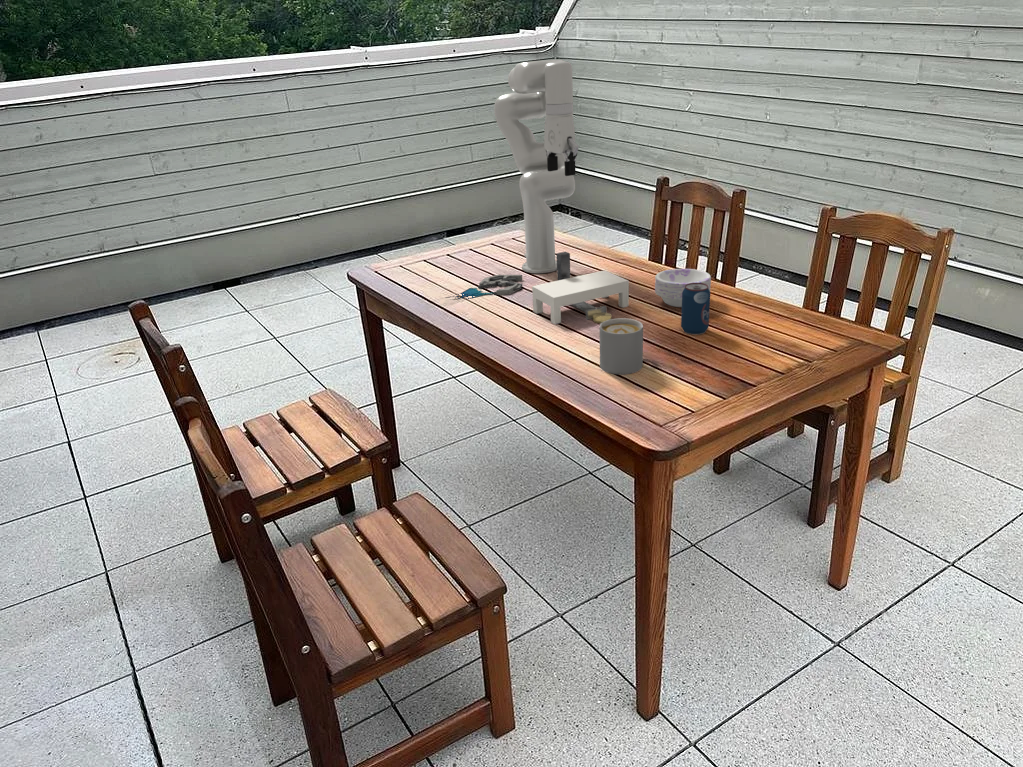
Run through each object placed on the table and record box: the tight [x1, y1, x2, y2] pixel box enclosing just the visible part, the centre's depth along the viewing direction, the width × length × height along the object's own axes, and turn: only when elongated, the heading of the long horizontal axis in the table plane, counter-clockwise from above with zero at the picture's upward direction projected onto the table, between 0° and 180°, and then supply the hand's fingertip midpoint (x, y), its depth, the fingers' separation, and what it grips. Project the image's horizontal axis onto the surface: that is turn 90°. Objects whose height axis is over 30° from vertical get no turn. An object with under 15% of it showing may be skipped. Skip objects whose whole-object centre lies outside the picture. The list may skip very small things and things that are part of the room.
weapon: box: [457, 274, 523, 301], centre depth 236 cm, size 34×2×15 cm
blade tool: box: [555, 251, 608, 320], centre depth 215 cm, size 19×6×14 cm, turn 27°
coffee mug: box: [598, 317, 644, 375], centre depth 180 cm, size 13×10×10 cm
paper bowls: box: [654, 268, 712, 308], centre depth 216 cm, size 15×15×8 cm
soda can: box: [680, 283, 711, 336], centre depth 196 cm, size 7×7×12 cm
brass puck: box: [592, 312, 613, 325], centre depth 208 cm, size 5×5×2 cm
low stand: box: [531, 270, 630, 325], centre depth 216 cm, size 12×24×8 cm, turn 117°
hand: (561, 173), depth 221 cm, fingers open, 9 cm apart
